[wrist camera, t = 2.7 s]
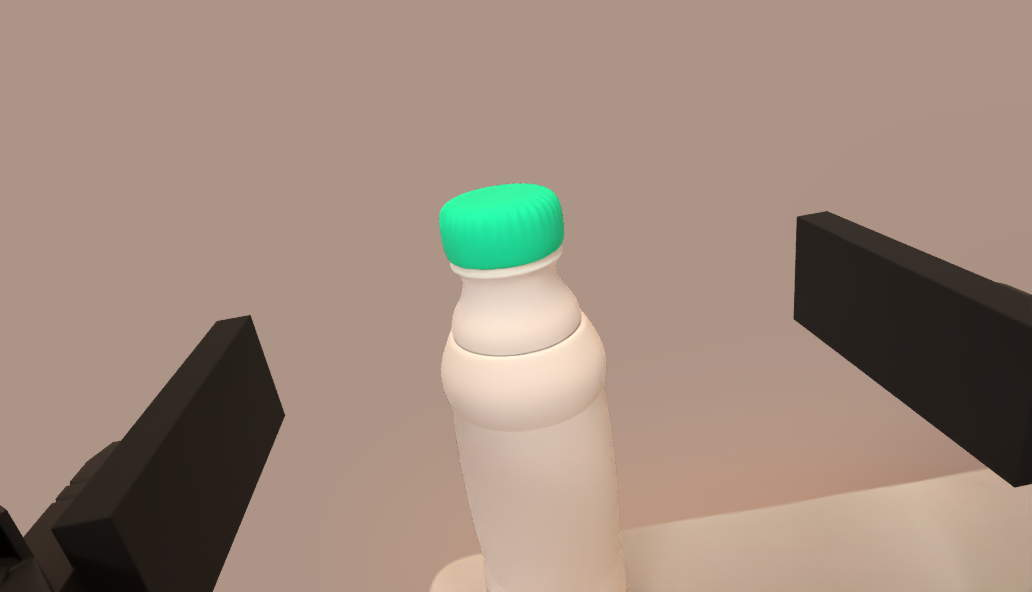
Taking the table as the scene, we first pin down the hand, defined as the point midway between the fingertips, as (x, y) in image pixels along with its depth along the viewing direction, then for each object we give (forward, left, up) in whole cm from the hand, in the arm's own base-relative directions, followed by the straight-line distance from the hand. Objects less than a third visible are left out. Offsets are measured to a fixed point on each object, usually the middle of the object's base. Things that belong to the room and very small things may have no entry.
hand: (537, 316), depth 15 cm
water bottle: (0, +10, -24) cm, 26 cm away
